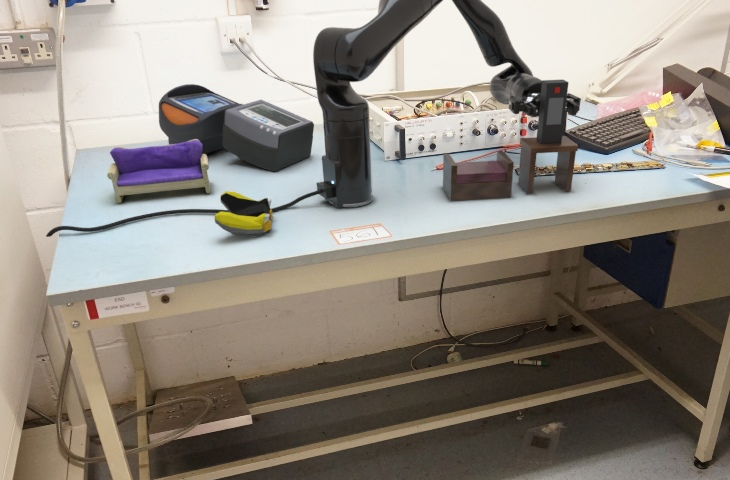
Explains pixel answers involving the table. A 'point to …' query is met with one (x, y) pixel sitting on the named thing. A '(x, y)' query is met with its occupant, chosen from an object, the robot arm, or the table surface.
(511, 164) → the cushioned bench
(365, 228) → the table surface
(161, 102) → the diagnostic device
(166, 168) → the toy sofa
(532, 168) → the walnut shelf
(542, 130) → the slim remote
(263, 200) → the yellow bananas
